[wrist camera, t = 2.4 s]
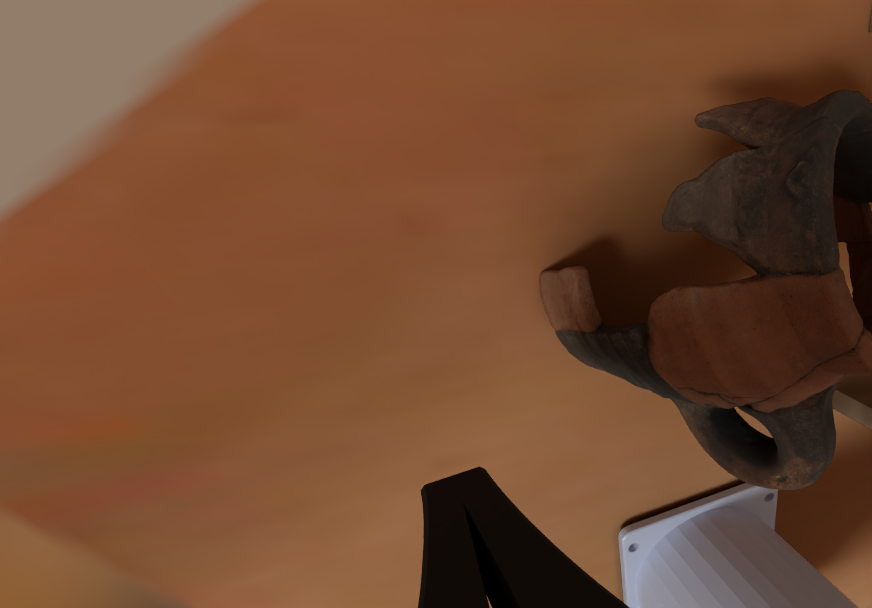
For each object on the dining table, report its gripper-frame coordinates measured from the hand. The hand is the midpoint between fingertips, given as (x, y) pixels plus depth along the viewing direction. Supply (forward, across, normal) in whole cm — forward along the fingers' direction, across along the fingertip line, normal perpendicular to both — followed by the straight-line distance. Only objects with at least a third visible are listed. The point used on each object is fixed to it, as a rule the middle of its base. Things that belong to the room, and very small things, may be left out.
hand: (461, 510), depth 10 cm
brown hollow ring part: (+7, -10, 0) cm, 12 cm away
